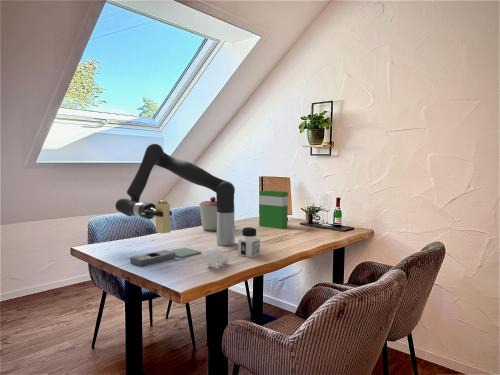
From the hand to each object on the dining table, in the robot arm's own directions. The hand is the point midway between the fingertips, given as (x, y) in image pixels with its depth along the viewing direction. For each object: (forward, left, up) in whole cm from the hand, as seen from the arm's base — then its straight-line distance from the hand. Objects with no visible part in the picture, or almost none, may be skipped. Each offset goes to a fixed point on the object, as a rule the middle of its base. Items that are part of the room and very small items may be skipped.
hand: (166, 213), depth 160 cm
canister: (-5, -72, -21) cm, 75 cm away
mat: (-4, -11, -21) cm, 24 cm away
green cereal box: (-43, -88, -21) cm, 100 cm away
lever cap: (+2, -2, -9) cm, 9 cm away
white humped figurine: (-24, +6, -21) cm, 33 cm away
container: (-35, -14, -21) cm, 43 cm away
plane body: (+6, +2, -21) cm, 21 cm away
